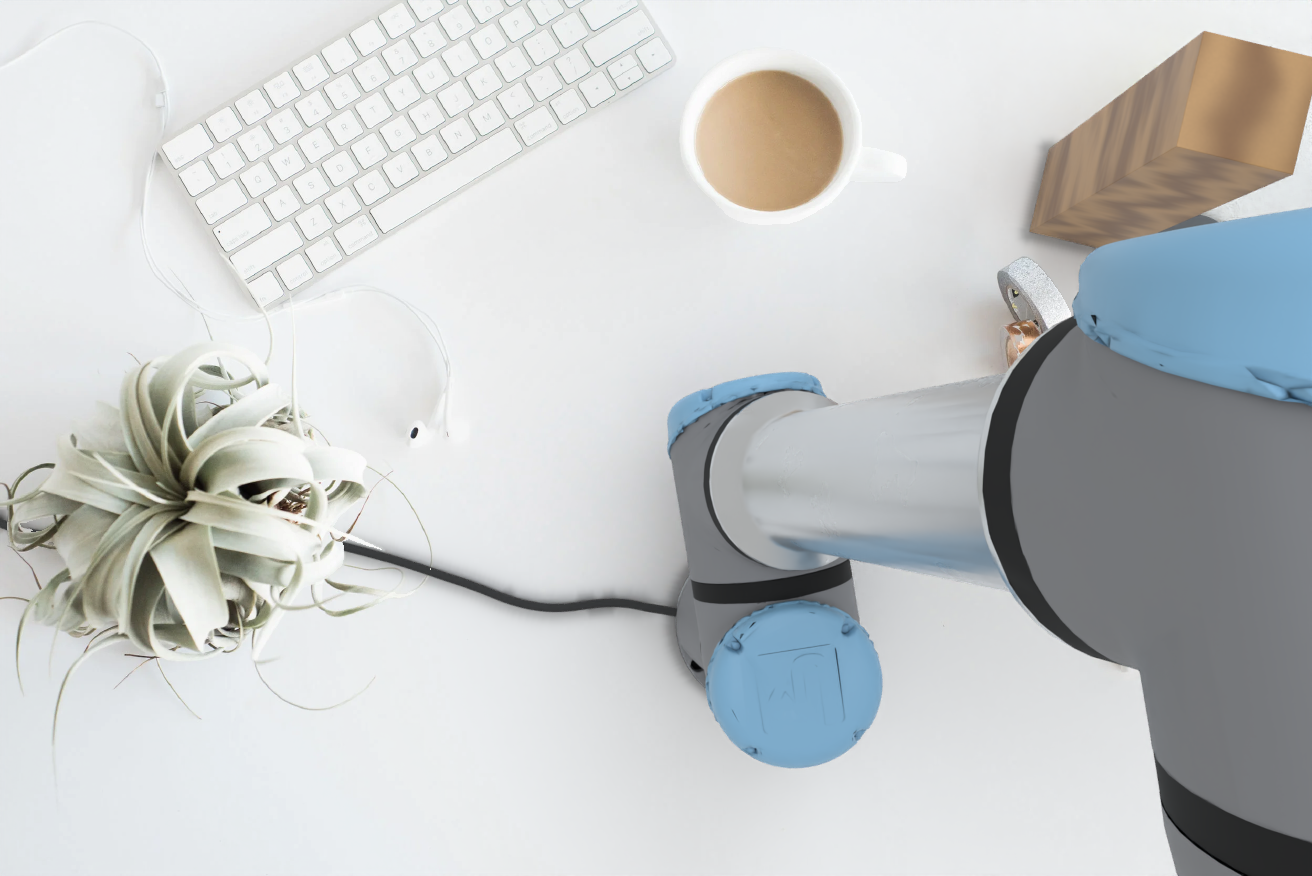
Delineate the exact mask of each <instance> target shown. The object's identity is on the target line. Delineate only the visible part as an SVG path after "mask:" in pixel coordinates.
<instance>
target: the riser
mask: <svg viewBox="0 0 1312 876" xmlns="http://www.w3.org/2000/svg"><path fill="white" fill-rule="evenodd" d="M1311 102H1312V56H1311V55H1306V54H1303V53H1298V52H1294V51H1290V50H1287V49H1281V48H1278V47H1274V46H1270V45H1264V44H1261V43H1258V42H1254V41H1253V42H1252V41H1248V40H1244V39H1241V38H1236V37H1231V36H1227V35H1224V34H1220V33H1216V32H1211V31H1206V30H1203V31H1202V32H1200V33H1199V34H1198V35H1197V36H1196V37H1194V38H1192V39H1191V40H1190V41H1189V42H1187V43H1186V44H1185V45H1183V46H1182V47H1181V48H1180V49H1178V50H1176V52H1174V53H1172V55H1170V56H1169V57H1168V58H1166V59H1165V60H1163V61H1162V62H1161V63H1160V64H1159V65H1157V66H1156V67H1155V68H1153V69H1151V71H1149V72H1148V73H1146V74H1145V75H1144V76H1143V77H1142V78H1140V79H1139V80H1138V81H1136V82H1135V83H1134V84H1132V85H1131V86H1130V87H1128V88H1127V89H1126V90H1124V91H1123V92H1122V93H1121V94H1119V95H1118V96H1117V97H1115V98H1113V99H1112V100H1111V101H1110V102H1109V103H1107V104H1106V105H1104V106H1103V107H1102V108H1100V109H1099V110H1098V111H1097V112H1095V113H1094V114H1093V115H1092V116H1090V117H1089V118H1087V120H1085V121H1084V122H1082V123H1081V124H1080V125H1078V126H1077V127H1075V128H1074V129H1073V130H1072V131H1071V132H1069V133H1067V135H1065V136H1064V137H1062V138H1061V139H1060V140H1059V141H1057V142H1056V143H1055V144H1053V145H1052V146H1051V147H1050V148H1048V152H1047V156H1046V161H1045V165H1044V168H1043V173H1042V177H1041V182H1040V185H1039V188H1038V189H1039V190H1038V194H1037V198H1036V203H1035V207H1034V211H1033V214H1032V218H1031V223H1030V227H1029V232H1030V233H1033V234H1037V235H1040V236H1041V235H1042V236H1045V237H1050V238H1053V239H1057V240H1061V241H1067V242H1070V243H1074V244H1078V245H1083V246H1086V247H1091V248H1095V249H1097V248H1099V247H1101V246H1103V245H1106V244H1110V243H1114V242H1117V241H1122V240H1127V239H1131V238H1136V237H1141V236H1146V235H1151V234H1156V233H1158V232H1160V231H1163V230H1165V229H1167V228H1170V227H1172V226H1174V225H1177V224H1179V223H1181V222H1184V221H1186V220H1188V219H1191V218H1193V217H1195V216H1198V215H1203V214H1204V213H1207V212H1209V211H1211V210H1214V209H1216V208H1219V207H1221V206H1224V205H1225V204H1228V203H1230V202H1233V201H1235V200H1237V199H1239V198H1242V197H1244V196H1246V195H1249V194H1251V193H1254V192H1256V191H1259V190H1261V189H1263V188H1265V187H1267V186H1270V185H1272V184H1275V183H1277V182H1279V181H1281V180H1284V179H1286V178H1289V177H1291V176H1293V175H1294V173H1295V169H1296V164H1297V160H1298V157H1299V151H1300V149H1301V148H1300V147H1301V143H1302V140H1303V136H1304V131H1305V126H1306V122H1307V118H1308V114H1309V111H1310V106H1311Z"/></svg>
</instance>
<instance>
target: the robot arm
mask: <svg viewBox="0 0 1312 876" xmlns="http://www.w3.org/2000/svg"><path fill="white" fill-rule="evenodd" d="M1079 266H1080V267H1079V272H1078V292H1077V293H1076V295H1075V296H1074V297H1073V299H1072V303H1071V308H1072V313H1073V315H1071V316H1070V317H1067V318H1065V319H1063V320H1061V321H1059V322H1057V323H1055V324H1053V325H1051V326H1050V327H1049V328H1047V329H1046V330H1045V331H1043V332H1042V333H1041V334H1039V335H1038V336H1037V337H1035V338H1034V339H1033V340H1032V341H1031V342H1030V343H1029V344H1028V345H1027V346H1026V348H1025V349H1023V350H1022V351H1021V352H1020V354H1018V356H1017V357H1016V359H1014V361H1013V363H1012V364H1011V365H1010V367H1008V369H1007V370H1006V372H1002V373H997V374H991V375H988V376H981V377H977V378H972V379H966V380H961V381H954V382H951V383H950V382H949V383H945V384H944V383H943V384H939V385H934V386H930V387H929V386H928V387H924V388H919V389H913V390H907V391H902V392H897V393H891V394H887V395H882V396H876V397H870V398H866V399H860V400H855V401H850V402H846V403H845V402H844V403H840V404H839V403H838V402H836V401H834V400H832V399H831V398H829V397H827V395H826V394H825V392H824V390H823V389H824V388H823V386H822V384H821V382H820V380H819V379H818V378H817V377H816V376H815V375H812V374H809V373H807V372H800V371H781V372H780V371H779V372H770V373H763V374H758V375H752V376H746V377H742V378H738V379H737V378H736V379H733V380H729V381H724V382H721V383H719V384H715V385H714V386H712V387H709V388H703V389H700V390H697V391H694V392H692V393H690V394H688V395H686V396H684V397H683V398H680V399H679V400H678V401H676V402H675V403H674V405H673V406H671V408H670V410H669V412H668V415H667V420H666V421H667V422H666V426H667V439H668V441H667V446H666V450H667V455H668V458H669V460H670V461H671V466H672V473H673V478H674V486H675V491H676V498H677V504H678V511H679V516H680V517H679V518H680V522H681V528H682V529H681V530H682V535H683V541H684V547H685V553H686V559H687V565H688V571H689V572H688V573H689V574H688V576H687V578H686V580H685V581H684V583H683V585H682V588H681V590H680V592H679V596H678V598H677V603H676V607H674V606H673V607H672V606H669V605H668V606H667V605H660V604H654V603H648V602H644V601H639V600H635V599H629V598H626V599H625V598H598V599H590V600H582V601H573V602H565V603H564V602H562V603H561V602H560V603H559V602H558V603H550V602H549V603H547V602H538V601H533V600H529V599H528V600H527V599H523V598H519V597H516V596H512V595H509V594H507V593H504V592H502V591H499V590H496V589H494V588H492V587H489V586H486V585H484V584H481V583H478V582H476V581H473V580H470V579H468V578H464V577H462V576H459V575H455V574H452V573H450V572H447V571H445V570H441V569H437V568H434V567H431V566H429V565H426V564H423V563H420V562H416V561H413V560H410V559H407V558H404V557H401V556H397V555H395V554H391V553H387V552H384V551H380V550H376V549H373V548H369V547H364V546H362V545H358V544H353V543H349V542H345V541H342V542H343V545H344V551H343V552H347V553H350V554H354V555H357V556H362V557H366V558H370V559H373V560H377V561H381V562H385V563H388V564H392V565H395V566H398V567H402V568H405V569H408V570H411V571H413V572H417V573H419V574H423V575H426V576H429V577H432V578H435V579H437V580H439V581H443V582H447V583H449V584H453V585H456V586H459V587H462V588H464V589H467V590H471V591H473V592H476V593H479V594H481V595H483V596H486V597H488V598H490V599H494V600H496V601H498V602H500V603H504V604H506V605H509V606H514V607H517V608H521V609H525V610H529V611H535V612H544V613H566V612H567V613H568V612H569V613H570V612H576V611H585V610H592V609H593V610H594V609H603V608H623V609H631V610H636V611H642V612H647V613H652V614H657V615H663V616H670V617H674V618H675V633H676V634H675V635H676V640H677V644H678V647H679V652H680V655H681V657H682V659H683V661H684V663H685V665H686V667H687V670H688V671H689V672H690V673H691V675H692V676H693V677H694V679H696V681H697V683H699V684H700V685H701V686H702V687H703V688H704V689H705V692H706V694H705V695H706V700H707V704H708V707H709V710H710V711H711V712H712V714H713V716H714V720H715V722H717V723H718V724H719V726H720V728H721V729H722V731H723V733H724V734H725V736H726V737H727V738H728V740H730V741H731V743H732V744H733V745H734V746H736V747H737V748H738V749H739V751H742V752H743V753H745V754H746V755H747V756H749V757H751V758H753V759H754V760H756V761H758V762H761V763H762V764H766V765H769V766H771V767H776V768H777V767H778V768H783V769H805V768H811V767H816V766H820V765H823V764H826V763H829V762H831V761H833V760H835V759H837V758H839V757H841V756H842V755H844V754H845V753H847V752H848V751H850V750H851V749H852V748H853V747H854V746H856V745H857V744H858V742H859V741H860V740H861V738H862V737H863V735H864V734H865V733H866V731H867V730H869V729H870V728H871V726H872V724H873V723H874V720H875V719H876V717H877V714H878V711H879V708H880V705H881V702H882V701H881V700H882V697H883V696H882V695H883V686H884V685H883V684H884V683H883V671H882V666H881V662H880V658H879V654H878V653H879V652H877V650H876V648H875V644H874V641H873V640H872V639H871V638H870V634H869V632H868V631H867V630H866V629H865V627H864V626H862V625H861V620H860V615H859V607H858V601H857V595H856V589H855V583H854V576H853V572H852V565H851V561H856V562H861V563H865V564H870V565H876V566H881V567H885V568H890V569H895V570H901V571H905V572H909V573H915V574H919V575H923V576H924V575H925V576H928V577H935V578H938V579H939V578H940V579H944V580H949V581H953V582H958V583H965V584H969V585H974V586H979V587H983V588H988V589H993V590H997V591H1003V592H1008V593H1010V594H1011V595H1012V597H1013V599H1014V600H1015V601H1016V602H1017V604H1018V605H1019V607H1021V608H1022V610H1023V611H1024V612H1025V613H1026V614H1027V616H1028V617H1029V618H1030V619H1031V621H1033V622H1034V623H1036V625H1038V626H1039V627H1040V628H1041V629H1042V630H1044V631H1045V632H1046V633H1047V634H1048V635H1049V636H1051V637H1053V638H1054V639H1056V640H1058V641H1060V642H1061V643H1063V644H1065V645H1066V646H1068V647H1070V648H1073V649H1074V650H1076V651H1078V652H1081V653H1082V654H1083V655H1086V656H1089V657H1091V658H1095V659H1099V660H1103V661H1106V662H1109V663H1113V664H1116V665H1119V666H1123V667H1126V668H1130V669H1133V670H1137V671H1138V672H1139V677H1140V682H1141V683H1140V684H1141V689H1142V694H1143V701H1144V708H1145V712H1146V718H1147V725H1148V731H1149V736H1150V738H1149V739H1150V741H1151V742H1150V745H1151V749H1152V752H1153V753H1152V754H1153V760H1154V765H1155V771H1156V777H1157V778H1156V779H1157V784H1158V793H1159V799H1160V806H1161V812H1162V822H1163V827H1164V831H1165V832H1164V833H1165V835H1166V838H1167V843H1168V846H1169V850H1170V854H1171V857H1172V861H1173V865H1174V870H1175V873H1176V875H1177V876H1312V206H1310V207H1305V208H1297V209H1291V210H1286V211H1285V210H1284V211H1278V212H1272V213H1267V214H1261V215H1260V214H1259V215H1255V216H1249V217H1241V218H1237V219H1236V218H1235V219H1231V220H1224V221H1218V223H1212V224H1206V225H1200V226H1194V227H1188V228H1183V229H1178V230H1172V231H1167V232H1161V233H1156V234H1151V235H1146V236H1141V237H1136V238H1131V239H1127V240H1122V241H1117V242H1114V243H1110V244H1106V245H1103V246H1101V247H1099V248H1095V249H1094V250H1093V251H1091V252H1090V253H1089V254H1088V255H1087V256H1086V257H1085V259H1084V261H1083V262H1082V263H1081V264H1080V265H1079ZM7 521H8V520H6V519H4V518H2V517H0V529H2V530H4V531H7ZM29 528H30V527H29ZM30 529H32V530H33V531H31V532H36V531H40V529H36V528H35V529H34V528H30ZM430 568H431V570H430Z"/></svg>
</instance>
